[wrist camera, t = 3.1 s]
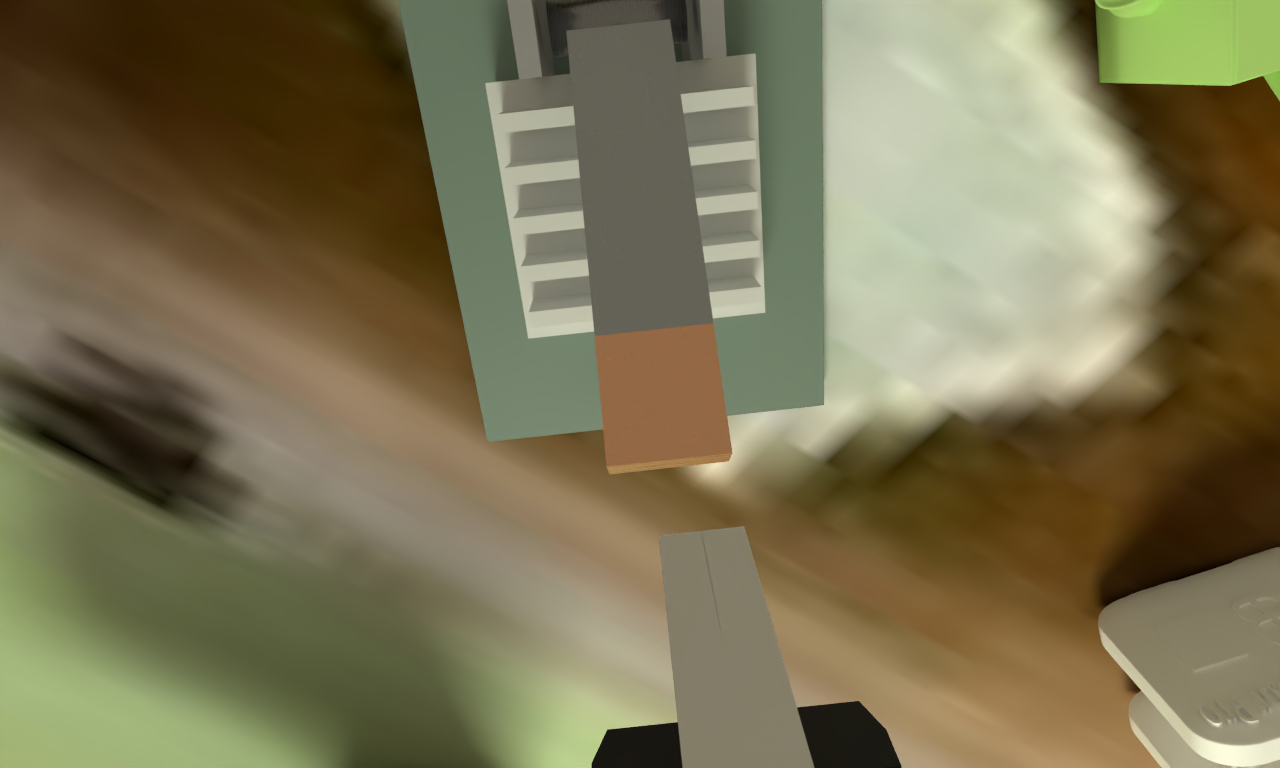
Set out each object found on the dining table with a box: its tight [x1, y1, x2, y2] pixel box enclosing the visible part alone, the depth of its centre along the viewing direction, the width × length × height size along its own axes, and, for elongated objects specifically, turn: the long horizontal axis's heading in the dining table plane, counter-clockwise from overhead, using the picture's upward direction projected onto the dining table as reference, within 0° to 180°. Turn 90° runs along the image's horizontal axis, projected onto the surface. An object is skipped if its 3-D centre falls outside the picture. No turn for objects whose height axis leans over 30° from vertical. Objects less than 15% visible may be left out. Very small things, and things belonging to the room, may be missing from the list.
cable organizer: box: [1098, 547, 1280, 768], centre depth 43 cm, size 15×11×12 cm
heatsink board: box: [398, 0, 824, 442], centre depth 32 cm, size 18×24×9 cm
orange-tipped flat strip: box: [546, 0, 732, 474], centre depth 24 cm, size 5×17×2 cm
